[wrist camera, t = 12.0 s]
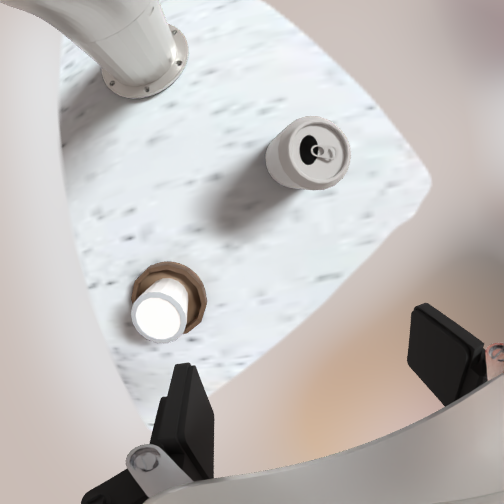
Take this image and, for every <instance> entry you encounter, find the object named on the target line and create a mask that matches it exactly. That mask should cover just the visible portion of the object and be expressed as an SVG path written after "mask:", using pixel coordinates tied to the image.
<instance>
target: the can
mask: <svg viewBox="0 0 504 504" xmlns="http://www.w3.org/2000/svg"><path fill="white" fill-rule="evenodd" d="M350 159H351V152H350V145H349V142H348V140H347V137H346V136H345V134H344V133H343V132H342V130H341V129H340V128H339V127H338V126H336V125H335V124H334V123H332V122H331V121H330V120H327V119H324V118H321V117H318V116H306V117H303V118H299V119H296V120H295V121H294V122H292V123H291V124H290V125H288V126H287V127H286V128H285V129H284V130H283V131H282V132H281V133H279V134H278V135H277V136H276V137H275V138H274V139H273V140H272V141H271V143H270V144H269V146H268V148H267V151H266V155H265V160H266V167H267V169H268V172H269V174H270V175H271V176H272V178H273V179H274V180H275V181H276V182H278V183H279V184H281V185H283V186H286V187H289V188H296V189H306V190H324V189H327V188H329V187H332V186H334V185H336V184H337V183H338V182H339V181H340V180H341V179H343V177H344V175H345V174H346V172H347V170H348V168H349V163H350Z"/></svg>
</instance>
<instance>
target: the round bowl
mask: <svg viewBox="0 0 504 504" xmlns="http://www.w3.org/2000/svg"><path fill="white" fill-rule="evenodd" d="M162 278H171V279H174V280H177V281H179V282H180V283H181V284H182V285H183V286H184V287H185V289H186V291H187V293H188V310H187V323H186V327H185V330H184V333H183V334H186V333H188V332H189V331H191V330H192V329H193V328H194V327H196V326H197V325H198V324H199V323H200V322H201V321H202V317H203V314H204V311H205V308H206V304H207V298H206V292H205V288H204V285H203V283H202V281H201V280H200V278H199V277H198V276H197V274H196V273H195V272H193V271H192V270H191V269H190V268H188V267H186V266H184V265H182V264H180V263H176V262H160V263H157V264H154V265H151V266H149V267H148V268H147V269H146V270H145V271H144V272H143V273H142V274H141V275H140V276H139V277H138V278H137V280H136V281H135V283H134V287H133V292H132V297H131V300H132V303H134V302H135V301H136V300H137V299H138V298H139V296H141V295H142V294H143V293H144V292H145V291H146V290H147V289H148V288H149V287H150V286H151V285H153V284H154V283H155V282H156V281H158V280H160V279H162Z"/></svg>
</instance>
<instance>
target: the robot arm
mask: <svg viewBox="0 0 504 504" xmlns="http://www.w3.org/2000/svg"><path fill="white" fill-rule="evenodd" d="M0 2H1V3H3V4H6V5H8V6H11V7H14V8H17V9H20V10H23V11H26V12H28V13H31V14H33V15H35V16H37V17H39V18H41V19H43V20H44V21H46V22H48V23H49V24H51V25H52V26H53V27H55V28H56V29H57V30H59V31H60V32H61V33H62V34H64V35H65V36H66V37H67V38H68V39H70V40H71V41H72V42H73V43H74V44H76V45H77V46H78V47H79V48H80V49H81V50H83V51H84V52H85V53H86V54H87V55H89V56H90V57H91V58H92V59H93V60H94V61H96V62H97V63H98V64H99V65H100V66H101V67H102V76H103V79H104V82H105V84H106V85H107V86H108V88H109V89H110V90H112V91H113V92H114V93H116V94H118V95H119V96H122V97H125V98H133V99H136V98H144V97H148V96H152V95H154V94H157V93H159V92H161V91H162V90H164V89H166V88H167V87H168V86H170V85H171V84H172V83H173V82H174V81H175V80H176V79H177V78H178V77H179V76H180V74H181V73H182V71H183V70H184V68H185V66H186V63H187V60H188V55H189V50H188V44H187V41H186V38H185V36H184V35H183V33H182V32H181V31H180V30H179V29H177V28H176V27H174V26H172V25H170V24H168V23H167V20H166V17H165V15H164V12H163V10H162V7H161V4H160V2H159V0H0ZM179 64H181V65H180V66H178V65H179ZM147 90H149V92H147ZM483 346H484V343H483V342H482V341H480V340H479V339H477V338H476V337H475V336H473V335H472V334H471V333H469V332H468V331H467V330H465V329H464V328H462V327H461V326H460V325H458V324H457V323H455V322H454V321H453V320H451V319H450V318H448V317H447V316H445V315H444V314H443V313H441V312H440V311H438V310H437V309H435V308H434V307H432V306H431V305H429V304H428V303H424V304H421V305H419V306H416V307H415V308H414V311H413V312H412V313H411V326H410V338H409V348H408V356H407V362H408V365H409V366H410V367H411V369H412V370H413V371H414V372H415V373H416V374H417V375H418V376H419V378H420V379H421V380H422V381H423V382H424V383H425V384H426V385H427V387H428V388H429V389H430V390H431V391H432V392H433V393H434V395H435V396H436V397H437V398H438V399H439V400H440V401H441V402H442V404H443V405H444V406H445V407H444V408H442V409H440V410H439V411H437V412H435V413H433V414H431V415H429V416H427V417H425V418H423V419H421V420H419V421H417V422H415V423H413V424H411V425H409V426H406V427H404V428H402V429H400V430H398V431H395V432H393V433H391V434H388V435H386V436H384V437H381V438H378V439H376V440H373V441H371V442H368V443H365V444H363V445H360V446H357V447H354V448H351V449H348V450H345V451H342V452H339V453H336V454H332V455H329V456H326V457H323V458H319V459H315V460H311V461H308V462H303V463H300V464H295V465H290V466H286V467H281V468H276V469H271V470H266V471H261V472H254V473H249V474H242V475H235V476H228V477H221V478H214V475H213V474H214V471H213V469H214V465H213V464H214V463H213V462H214V413H213V410H212V407H211V405H210V402H209V400H208V397H207V395H206V392H205V390H204V387H203V385H202V382H201V379H200V377H199V374H198V371H197V369H196V366H195V365H194V366H191V364H190V363H182V364H176V365H175V367H174V371H173V375H172V379H171V383H170V387H169V392H168V396H167V397H162V398H161V400H160V403H159V407H158V411H157V415H156V419H155V423H154V427H153V431H152V436H151V440H150V444H146V445H140V446H138V447H136V448H134V449H133V450H131V451H130V453H129V454H128V455H127V458H126V466H127V469H126V470H124V471H122V472H121V473H119V474H118V475H116V476H114V477H112V478H111V479H109V480H108V481H106V482H104V483H102V484H101V485H99V486H97V487H95V488H93V489H92V490H90V491H89V492H87V493H86V494H85V495H84V497H83V498H82V501H81V504H504V343H493V344H491V345H489V346H488V347H487V348H486V350H485V349H483Z"/></svg>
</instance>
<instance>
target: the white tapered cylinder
mask: <svg viewBox="0 0 504 504" xmlns="http://www.w3.org/2000/svg"><path fill="white" fill-rule="evenodd" d="M187 310H188V293H187V291H186V289H185V287H184V286H183V285H182V284H181V283H180V282H179V281H177V280H174V279H171V278H162V279H160V280H158V281H156V282H155V283H154V284H153V285H151V286H150V287H149V288H148V289H147V290H146V291H145V292H144V293H143V294H142V295H141V296H139V298H138V299H137V300H136V301H135V302H134V303H133V307H132V311H131V317H132V322H133V325H134V326H135V328H136V330H137V331H138V333H140V334H141V335H142V336H143V337H145V338H146V339H147V340H150V341H153V342H155V343H169V342H172V341H175V340H177V339H178V338H179V337H180V336H181V335H182V334H183V333H184V330H185V327H186V323H187Z"/></svg>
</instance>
